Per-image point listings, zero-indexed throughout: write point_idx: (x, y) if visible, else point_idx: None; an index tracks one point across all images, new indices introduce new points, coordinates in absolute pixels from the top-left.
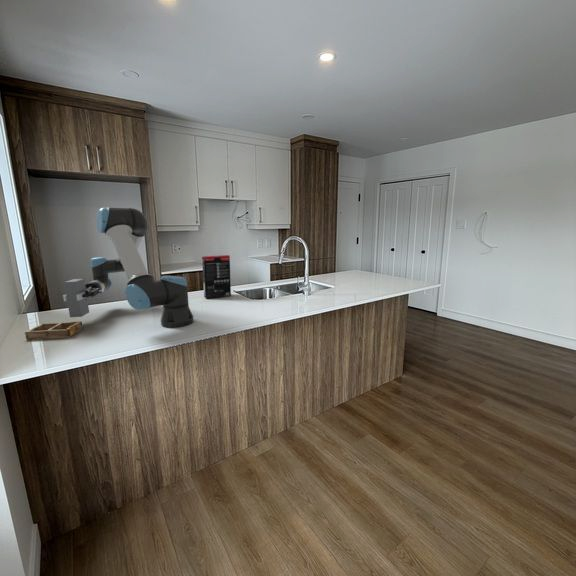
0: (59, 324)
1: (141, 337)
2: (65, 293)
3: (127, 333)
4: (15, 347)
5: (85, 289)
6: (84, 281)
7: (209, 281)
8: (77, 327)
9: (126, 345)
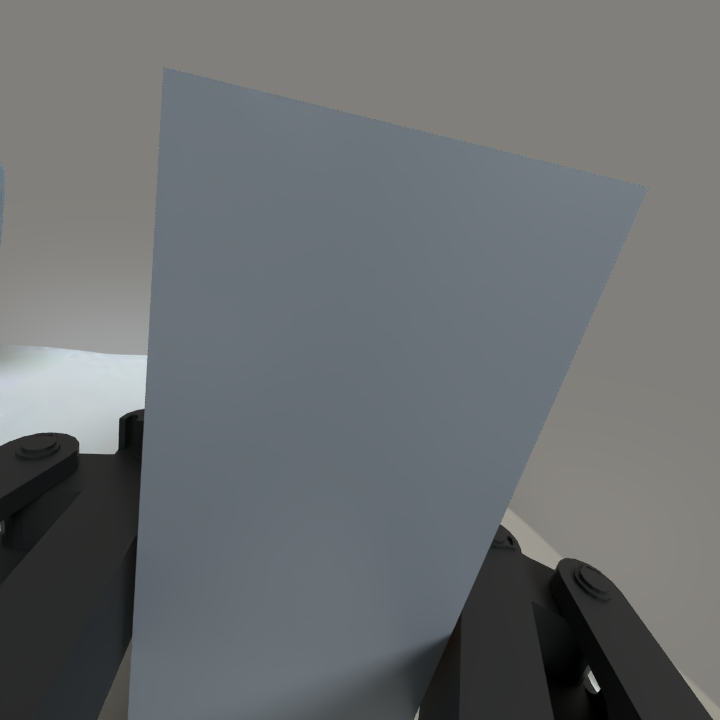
0: None
1: (26, 385)
2: (592, 581)
3: (36, 428)
4: None
5: (156, 481)
6: (164, 207)
7: None
8: None
9: (115, 369)
